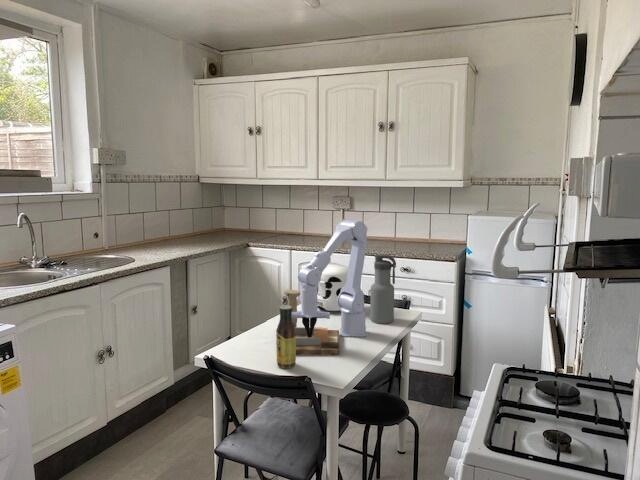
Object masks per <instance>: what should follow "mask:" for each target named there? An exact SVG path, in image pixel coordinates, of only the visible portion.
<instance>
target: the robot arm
mask: <svg viewBox="0 0 640 480" xmlns="http://www.w3.org/2000/svg"><path fill="white" fill-rule="evenodd" d="M367 233H368V227H367V225H366V224H365V223H364V221H362V220H351V219H346V218H344V219H343V218H342V220H340V221H339V223H338V224H337V225H336V227H335V231H334V232H333V235H332V236H331V237H330V240H329V241H328V242H327V243H326V245H325V247H324V248H323V249H322V250H319V251H317V252H315V253H314V256H313V257H312V259H311V260H310V262H309V263H307V265H306V266H305V267H303V268H302V269H300V271H299V273H298V275H297V279H298V281H299V282H300V288H301V289H300V295H301V311H298V310H297V312H292V318H297V319H302V320H301V322H302V324H303V326H304V327H305V329H306V332H307V336H308V337H312V332H313V329H314V327H316V324H317V321H318V319H327V320H328V319H329V320H330V318H331V317H330V316H331V314H330V313H331V312H326V311H322V310H321V311H319V310H318V307H317V284H318V283H319V282H320V280H321V275H322V272H323V271H324V269H325V268H327V267H328V266H329V264H330V263H331V260H332V259H331V258H332V257H331V256H332V255H333V254H334V252H335V251H337V250H338V248H339V247H340V246H341V245H342V244H343V243H344V242H346V241H348V242H349V243H350V244H351V249H350V256H349V263H348V274H347V280H346V285H345V286H344V287H343V288H342V289H341V292H340V294H339V296H338V299H337V303H338V305H339V307H340V310H341V312H340V313H341V314H340V315H341V316H340V319H341V320H340V327H341V328H339V337H361V338H362V337H366V330H367V326H366V311H364V307H365V300H364V298H365V293H364V292H363V290H362V289H361V282H362V275H363V269H364V266H365V265H364V263H365V257H366V252H367V244H368V238H367ZM309 327H310V328H309Z"/></svg>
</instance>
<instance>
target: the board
mask: <svg viewBox="0 0 640 480" xmlns="http://www.w3.org/2000/svg"><path fill="white" fill-rule="evenodd" d="M296 337H308V336H307V334H296ZM312 337H314V334H312ZM340 355H341V345H340V329H328V342H321V345H296V356H340Z"/></svg>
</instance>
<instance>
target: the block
mask: <svg viewBox="0 0 640 480" xmlns="http://www.w3.org/2000/svg"><path fill="white" fill-rule="evenodd" d="M328 330H329V328H328V327H322V328H314V337H321V342H328Z"/></svg>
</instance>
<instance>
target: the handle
mask: <svg viewBox="0 0 640 480" xmlns="http://www.w3.org/2000/svg"><path fill="white" fill-rule="evenodd" d="M283 294H284V296H286V297H287V305H289V306H292V312H298V305H297V304H298V303H297V302H298V301H297V298H298V297H299V296H300V295H301V290H297V289H296V290H295V289H286V290H284V291H283ZM292 322H293V323H294V325H295V327H298V326H297V325H298V324H297V323H298V318H292Z"/></svg>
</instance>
